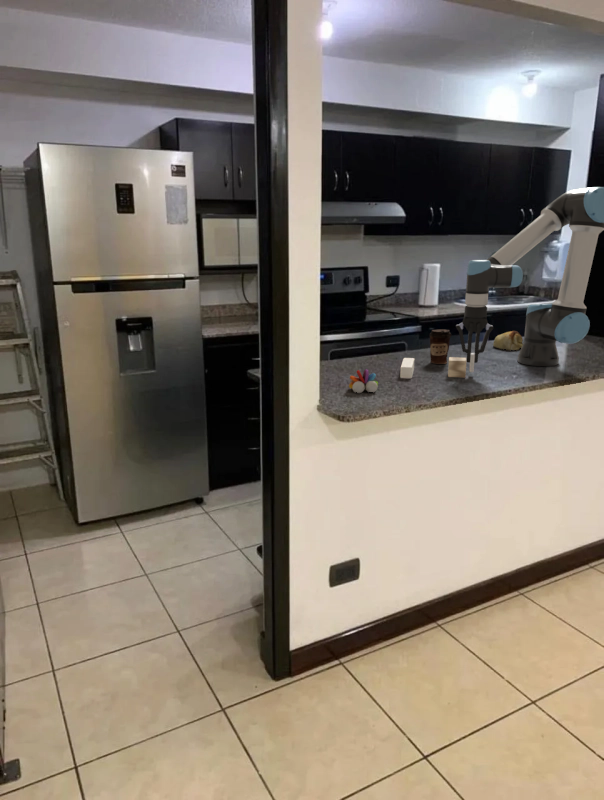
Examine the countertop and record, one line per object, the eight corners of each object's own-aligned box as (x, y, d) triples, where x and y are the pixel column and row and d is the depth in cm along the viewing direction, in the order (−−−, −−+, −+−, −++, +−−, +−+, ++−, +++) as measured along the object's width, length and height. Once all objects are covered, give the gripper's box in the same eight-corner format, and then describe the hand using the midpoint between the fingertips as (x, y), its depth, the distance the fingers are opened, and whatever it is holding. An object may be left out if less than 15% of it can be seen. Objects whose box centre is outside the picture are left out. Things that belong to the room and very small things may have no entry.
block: (464, 373, 217) (466, 357, 216) (465, 377, 212) (466, 361, 210) (448, 373, 219) (449, 357, 217) (448, 376, 213) (449, 360, 211)
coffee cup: (449, 365, 230) (451, 332, 227) (428, 364, 232) (429, 331, 228) (449, 360, 239) (451, 328, 235) (428, 360, 240) (429, 328, 237)
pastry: (523, 351, 256) (525, 333, 253) (493, 350, 259) (495, 332, 257) (521, 345, 269) (522, 328, 267) (492, 344, 272) (493, 327, 270)
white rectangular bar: (414, 368, 226) (414, 358, 225) (411, 378, 211) (412, 367, 210) (403, 368, 227) (403, 357, 226) (400, 377, 212) (400, 367, 211)
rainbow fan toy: (346, 388, 200) (347, 367, 198) (375, 387, 201) (375, 366, 199) (351, 394, 192) (351, 372, 190) (380, 393, 193) (381, 372, 191)
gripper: (494, 304, 209) (489, 369, 215) (456, 303, 212) (452, 368, 218) (496, 307, 202) (490, 374, 208) (457, 306, 205) (452, 372, 211)
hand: (471, 371), depth 213 cm, fingers closed
